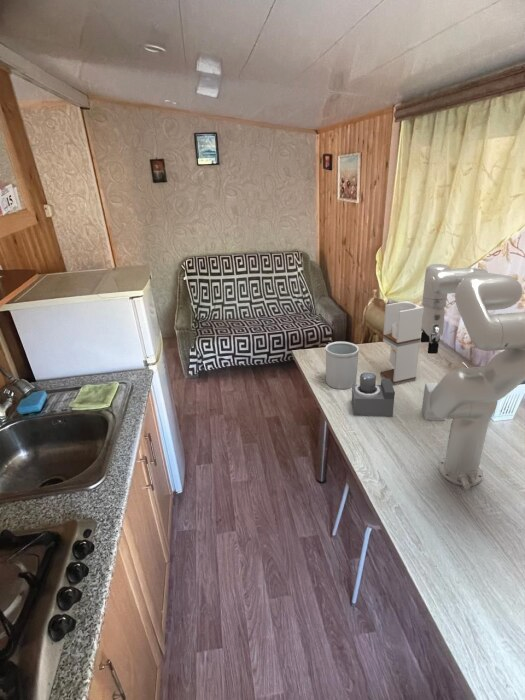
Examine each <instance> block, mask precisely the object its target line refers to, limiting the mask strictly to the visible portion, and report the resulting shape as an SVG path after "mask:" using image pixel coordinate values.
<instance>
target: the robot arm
mask: <svg viewBox="0 0 525 700" xmlns="http://www.w3.org/2000/svg"><path fill="white" fill-rule="evenodd" d="M423 283H424V284H423V293H422V301H421V302H422V303H421V307H423V308H424V309H423V316H422V328H421V337H420V343H428V347H427V354H438V353H439V348H440V347H439V346H440V340H441V339H440V338H441V337H442V336H443V334H444V327H445V326H444V325H445V308H446V306H447V302H448V301H447V300H448V294H454V301H455V303H456V304H455V305H456V307H457V310H458V313H459V315H460V317H461V320H462V322H463V324H464V327H465V329H466V331H467V333H468V334H467V335H468V336H469V339H470V340H471V342H472V344H473V346H474V347H476V348H477V349H478V350H481V351H484V352H493V351H495V352H496V351H500V352H499V353H497V354H496V355H494V356H493V357H492V358H491V359H490V361H488V362H487V363H486V364H483V365H481V366H472V367H471V366H470V367H460V368H456V369H454V368H453V369H452V370H449V371H448V372H447V373H446V374H445V375H444V376H442V379H440V380H439V382H437V383H438V384H437V386H436V387H435V388H434V389H433V391H432V393H431V396H430V407H431V410H432V412H433V413H434V414H435V415H436V416H437V417H439V418H442V419H445V420H451V423H450V429H449V434H448V439H447V445H446V451H445V457H444V458H442V459H441V460H440V461H439V462H438V471H439V473H440V475H441V476H442V477H443V478H444V479H445V480H447V481H448V482H449V483H450V482H451V483H452V484H455V485H458V486H462V487H463V488H464V489H465V490H469V489H470V488H471V487H473V486H477V485H479V484H480V483H481V482H482V481H483V479H484V473H483V472H484V471H483V470H482V469H481V467H480V463H481V459H482V454H483V451H484V444H485V441H486V436H487V431H488V428H489V424H490V421H491V419H492V417H493V415H494V413H495V411H496V408H497V407H498V401H500V400H501V399H504V398H505V397H506V396H507V395H509V393H512V391H514V389H516V388H517V387H519V385H520V384H522V383H523V382H524V381H525V311H520V312H519V311H518V312H507V313H506V312H505V313H495V314H494V313H492V314H490V313H489V311H497V310H505V309H509V308H511V307H513V306H515V305H516V304H517V303H518V302H519V301H520V299H521V298H522V297H523V296H522V295H523V287H522V284H521V283H520V282H519V280H517V279H516V278H515V277H512V276H510V275H505V274H498V273H494V272H493V273H492V272H488V271H487V269H484V268H477V267H464V268H463V267H462V268H461V267H460V268H451V267H450V266H449V265H447V264H444V263H434V264H433V263H432V264H429V265H428V266H426V269H425V273H424V282H423Z"/></svg>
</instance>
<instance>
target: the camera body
mask: <svg viewBox="0 0 525 700" xmlns="http://www.w3.org/2000/svg"><path fill="white" fill-rule="evenodd" d="M395 393H396V391H395V388H394V386H393V385H392V383H391V380H390V379H389V378H383V377H382V378H381V379H380V384H376V387H375V393H372V394H365V393H362V392H360V383H359V384H355V385H352V387H351V405H352V406H351V407H352V412H353V416H354V417H394V416H393V415H394V408H395V407H394V406H395Z"/></svg>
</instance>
